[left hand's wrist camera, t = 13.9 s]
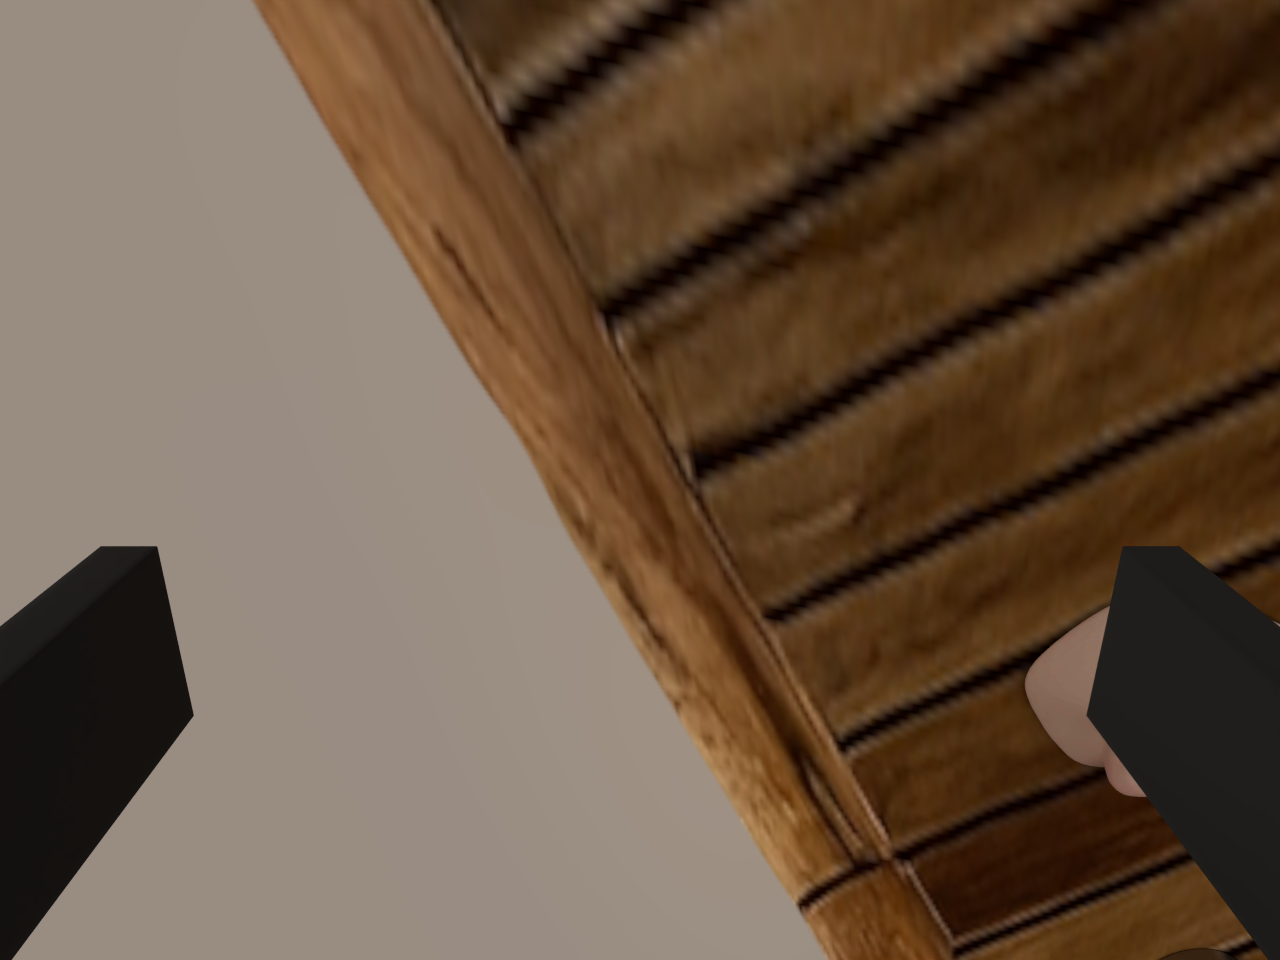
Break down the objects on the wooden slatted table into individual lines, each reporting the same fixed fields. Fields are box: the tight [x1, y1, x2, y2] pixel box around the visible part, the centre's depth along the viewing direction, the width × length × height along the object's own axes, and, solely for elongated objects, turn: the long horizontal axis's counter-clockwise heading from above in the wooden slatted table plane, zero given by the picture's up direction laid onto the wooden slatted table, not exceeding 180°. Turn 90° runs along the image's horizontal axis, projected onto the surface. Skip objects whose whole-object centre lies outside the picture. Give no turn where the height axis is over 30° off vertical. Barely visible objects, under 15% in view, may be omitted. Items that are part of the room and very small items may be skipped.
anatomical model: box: [1025, 606, 1280, 797], centre depth 45 cm, size 13×4×12 cm
